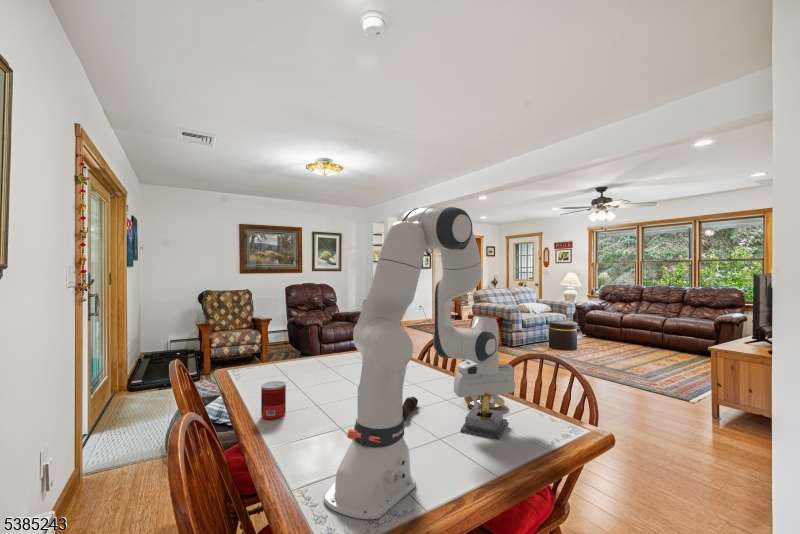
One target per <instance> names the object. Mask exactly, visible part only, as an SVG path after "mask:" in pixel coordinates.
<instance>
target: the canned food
mask: <svg viewBox="0 0 800 534" xmlns="http://www.w3.org/2000/svg"><path fill="white" fill-rule="evenodd" d="M260 389H261V391H260V392H261V393H260V395H261V396H260V397H261V401H260V402H261V403H260V404H261V405H260V406H261V407H260V408H261V409H260V410H261V411H260V413H261V414H260V415H261V418H262V419H263V420H264V421H276V420H280V419H281V418H283V417H285V415H286V408H287V407H286V402H287V401H286V399H287V397H286V394H287V393H286V392H287V390H286V389H287V385H286V382H284V381H280V380H273V381H269V382H268V381H267V382H264V383H263V384H262V385H261V388H260Z"/></svg>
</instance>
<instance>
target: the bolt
mask: <svg viewBox="0 0 800 534" xmlns="http://www.w3.org/2000/svg"><path fill="white" fill-rule="evenodd" d="M418 403H419V399H418V398H417V397H416V396H410V397H409V396H408V397H406V399H405V400H404V402H403V407H402V417H403V418H404V422H406V421H407V419H408V417H409V416H410V414H411V413H410V412H414V411H415V410H416V408H417V407H418ZM414 409H415V410H414Z"/></svg>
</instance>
